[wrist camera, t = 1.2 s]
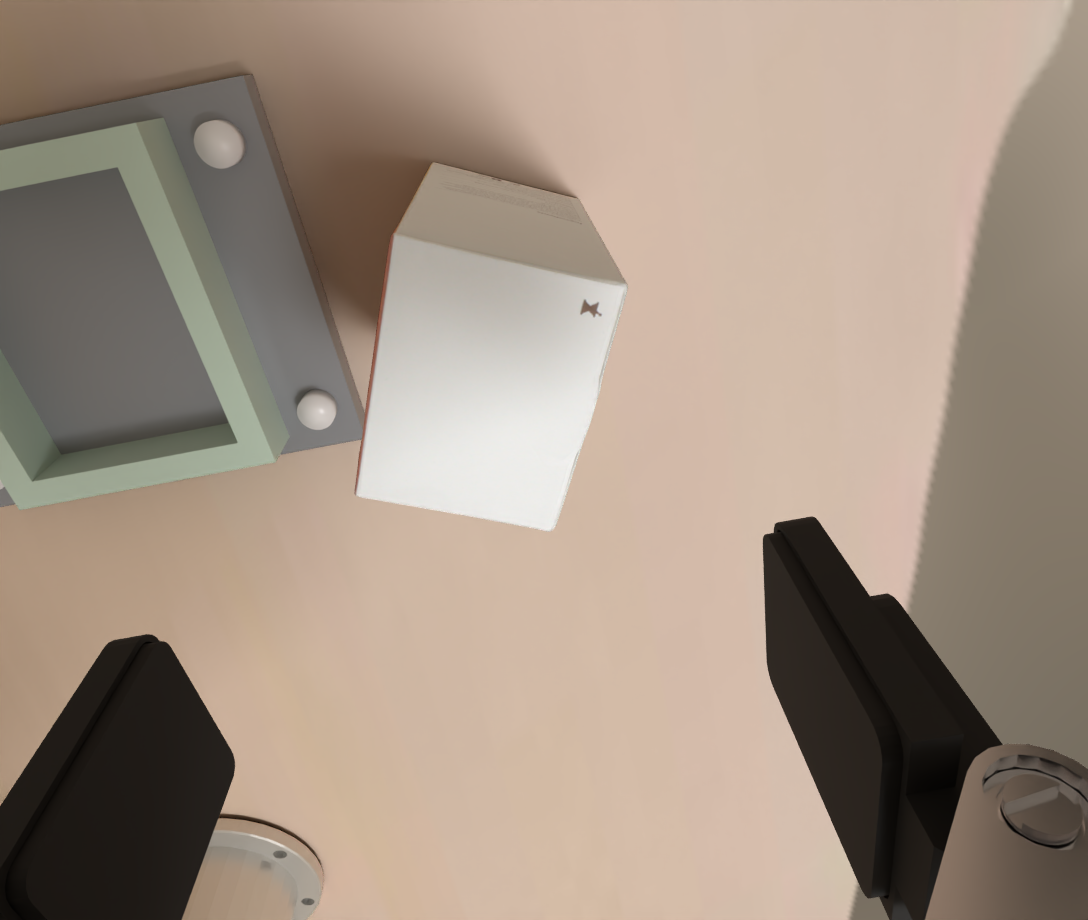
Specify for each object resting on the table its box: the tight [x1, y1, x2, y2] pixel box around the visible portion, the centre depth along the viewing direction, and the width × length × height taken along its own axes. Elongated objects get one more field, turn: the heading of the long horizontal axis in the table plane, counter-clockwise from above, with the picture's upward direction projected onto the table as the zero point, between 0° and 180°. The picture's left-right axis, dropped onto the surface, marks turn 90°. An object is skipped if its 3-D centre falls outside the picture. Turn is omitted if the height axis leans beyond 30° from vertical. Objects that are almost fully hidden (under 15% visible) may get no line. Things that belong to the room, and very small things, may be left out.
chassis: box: [0, 75, 365, 510], centre depth 30 cm, size 15×18×4 cm
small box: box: [355, 162, 628, 532], centre depth 26 cm, size 8×6×13 cm
